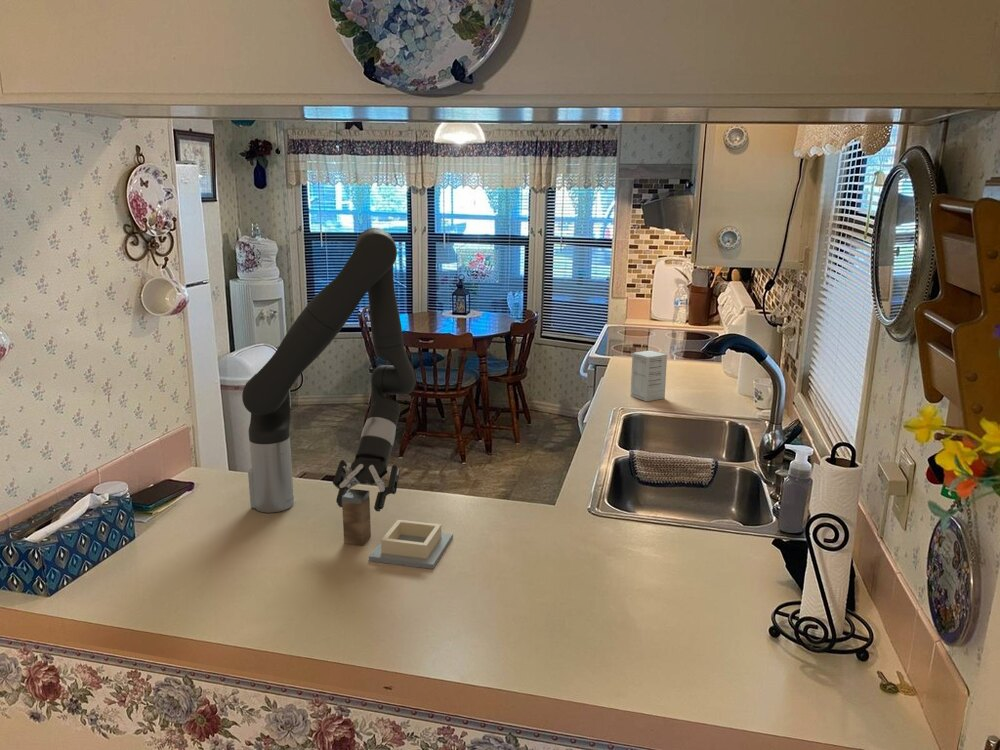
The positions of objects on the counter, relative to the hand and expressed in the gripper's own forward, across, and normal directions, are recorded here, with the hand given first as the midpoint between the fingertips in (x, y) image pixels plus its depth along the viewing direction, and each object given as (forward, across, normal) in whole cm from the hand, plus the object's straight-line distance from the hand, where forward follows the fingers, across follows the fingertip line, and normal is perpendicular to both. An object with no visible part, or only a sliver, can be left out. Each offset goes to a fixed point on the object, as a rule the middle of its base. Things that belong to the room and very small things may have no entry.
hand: (358, 508), depth 159 cm
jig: (+6, +13, +4) cm, 15 cm away
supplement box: (-88, +58, +99) cm, 144 cm away
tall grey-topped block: (+6, 0, +4) cm, 7 cm away
